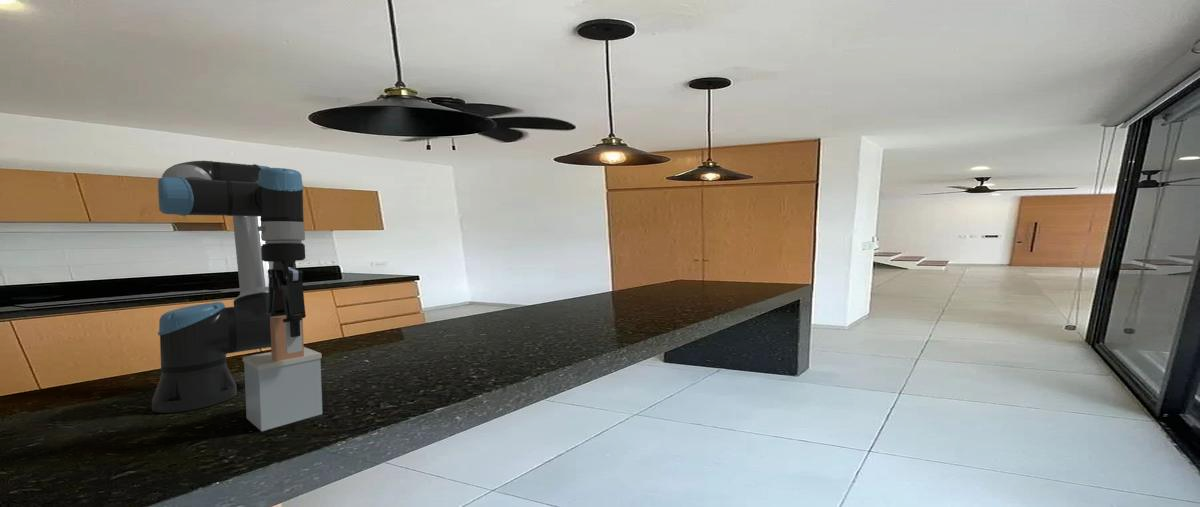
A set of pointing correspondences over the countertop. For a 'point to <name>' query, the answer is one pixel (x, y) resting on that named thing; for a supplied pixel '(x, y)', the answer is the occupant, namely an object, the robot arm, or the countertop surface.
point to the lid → (280, 349)
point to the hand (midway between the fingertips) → (287, 349)
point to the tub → (283, 394)
